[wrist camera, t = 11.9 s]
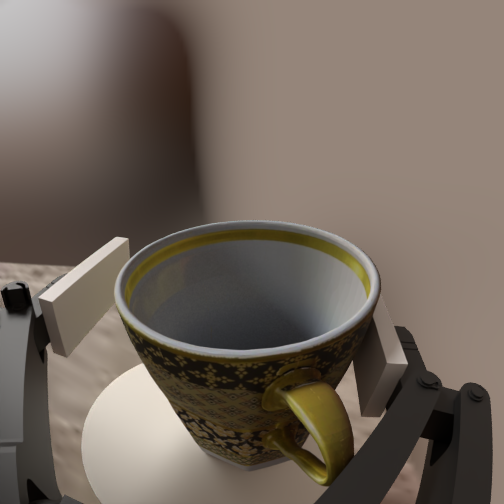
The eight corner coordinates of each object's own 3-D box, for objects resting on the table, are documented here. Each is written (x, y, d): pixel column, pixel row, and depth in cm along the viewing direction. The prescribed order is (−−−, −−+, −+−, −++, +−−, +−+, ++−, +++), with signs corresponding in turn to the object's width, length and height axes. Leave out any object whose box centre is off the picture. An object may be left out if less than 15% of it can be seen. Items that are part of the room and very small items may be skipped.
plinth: (90, 422, 21) (70, 370, 18) (258, 384, 27) (266, 333, 25) (147, 598, 9) (122, 590, 6) (361, 513, 16) (398, 476, 13)
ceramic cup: (157, 378, 20) (122, 235, 15) (299, 348, 22) (308, 210, 18) (195, 569, 8) (103, 496, 4) (400, 499, 11) (501, 357, 7)
